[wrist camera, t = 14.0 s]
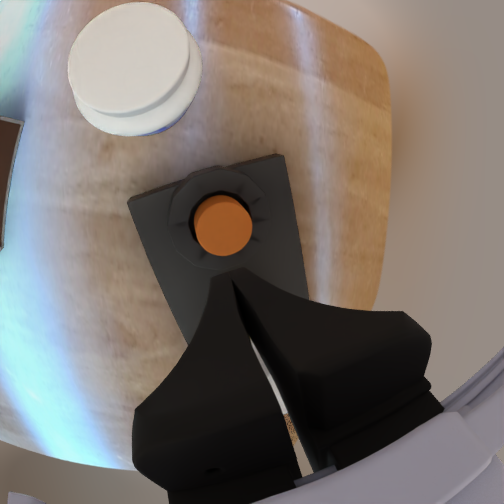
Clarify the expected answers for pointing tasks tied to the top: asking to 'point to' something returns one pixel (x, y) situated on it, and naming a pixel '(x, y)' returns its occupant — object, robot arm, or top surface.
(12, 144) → the food container
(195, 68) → the pill bottle
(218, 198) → the orange push button
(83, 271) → the top surface
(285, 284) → the button base
